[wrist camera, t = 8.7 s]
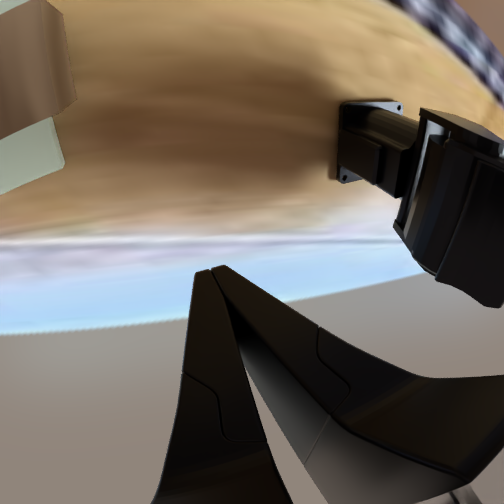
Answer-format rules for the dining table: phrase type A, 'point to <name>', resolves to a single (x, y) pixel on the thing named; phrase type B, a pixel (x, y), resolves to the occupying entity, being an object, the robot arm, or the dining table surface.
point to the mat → (28, 145)
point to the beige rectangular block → (33, 66)
